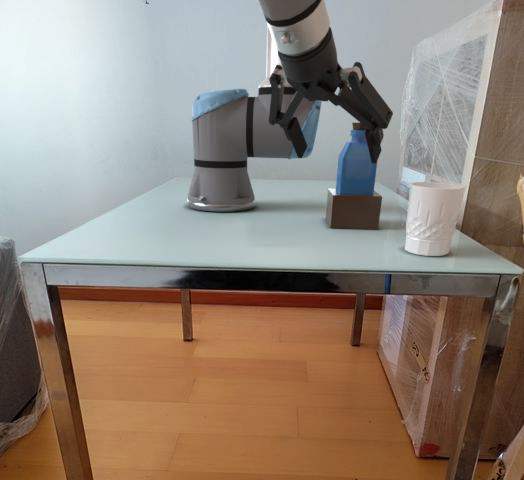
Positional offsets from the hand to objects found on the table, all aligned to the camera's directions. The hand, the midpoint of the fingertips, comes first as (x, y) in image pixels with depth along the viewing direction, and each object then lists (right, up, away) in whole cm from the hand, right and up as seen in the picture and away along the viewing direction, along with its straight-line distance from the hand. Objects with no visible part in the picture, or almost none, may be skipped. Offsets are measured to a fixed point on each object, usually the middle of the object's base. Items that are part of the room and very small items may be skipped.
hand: (338, 154), depth 81 cm
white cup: (+13, -18, -5) cm, 23 cm away
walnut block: (+4, -9, +13) cm, 16 cm away
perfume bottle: (+5, -3, +10) cm, 11 cm away
